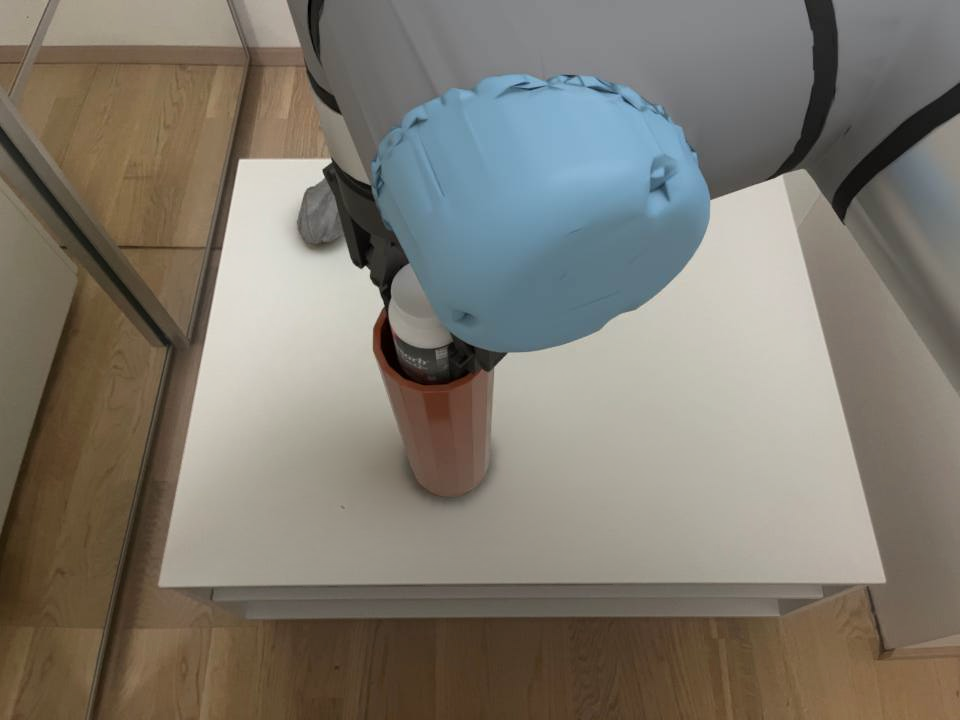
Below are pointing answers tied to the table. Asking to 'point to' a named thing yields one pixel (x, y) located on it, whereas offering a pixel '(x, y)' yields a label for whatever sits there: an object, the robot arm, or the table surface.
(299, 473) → the table surface
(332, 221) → the grey rock
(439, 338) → the pill bottle
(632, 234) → the robot arm
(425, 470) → the tall brown vase
